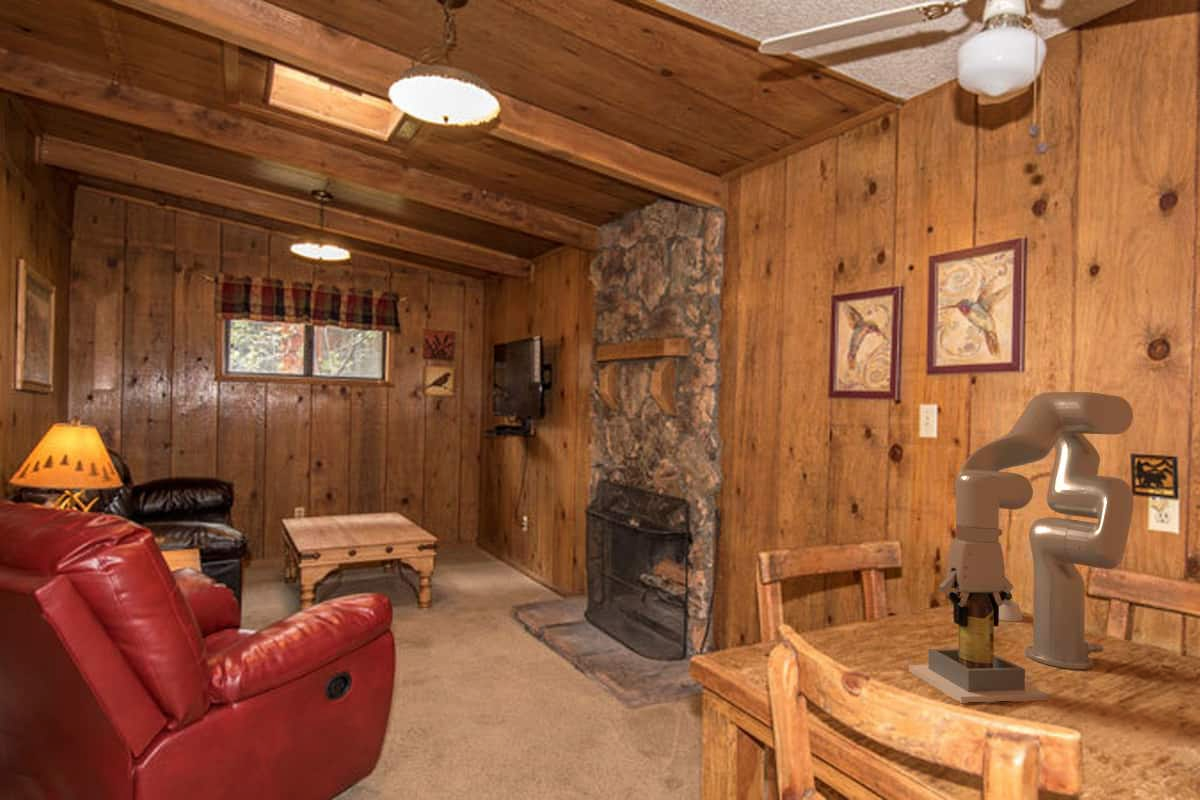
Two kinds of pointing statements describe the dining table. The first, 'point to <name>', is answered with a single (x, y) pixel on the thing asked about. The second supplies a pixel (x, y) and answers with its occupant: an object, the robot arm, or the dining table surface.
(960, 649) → the sauce bottle
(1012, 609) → the inkwell
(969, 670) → the bottle stand
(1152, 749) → the dining table surface
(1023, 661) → the dining table surface
